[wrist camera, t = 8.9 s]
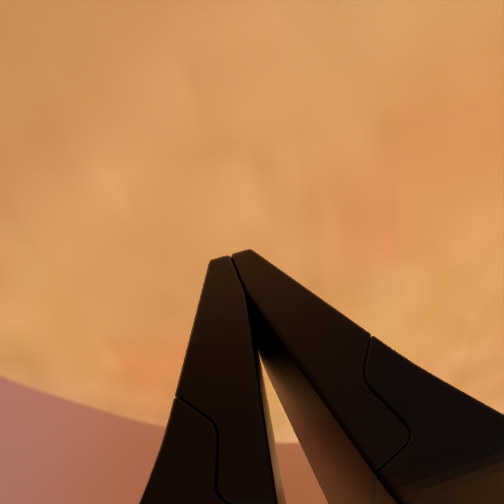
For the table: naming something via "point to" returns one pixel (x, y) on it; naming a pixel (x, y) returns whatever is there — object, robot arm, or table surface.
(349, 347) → the robot arm
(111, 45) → the table surface
